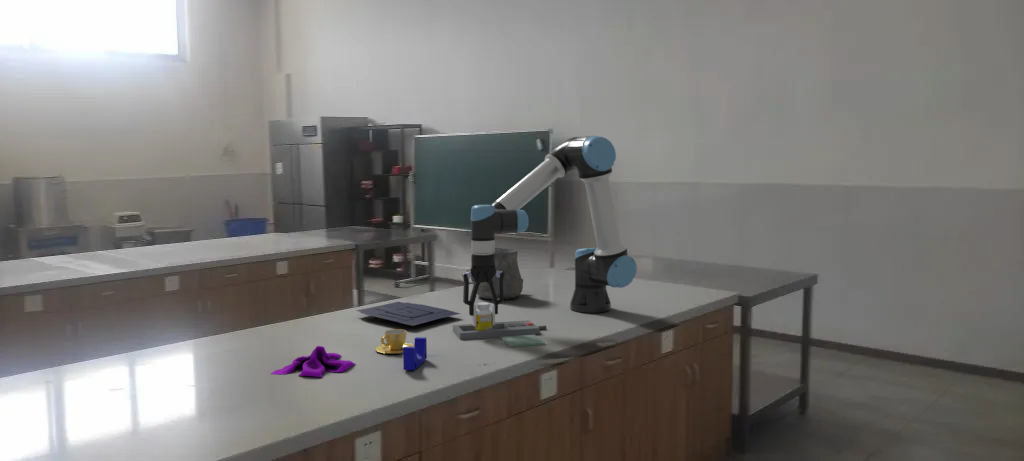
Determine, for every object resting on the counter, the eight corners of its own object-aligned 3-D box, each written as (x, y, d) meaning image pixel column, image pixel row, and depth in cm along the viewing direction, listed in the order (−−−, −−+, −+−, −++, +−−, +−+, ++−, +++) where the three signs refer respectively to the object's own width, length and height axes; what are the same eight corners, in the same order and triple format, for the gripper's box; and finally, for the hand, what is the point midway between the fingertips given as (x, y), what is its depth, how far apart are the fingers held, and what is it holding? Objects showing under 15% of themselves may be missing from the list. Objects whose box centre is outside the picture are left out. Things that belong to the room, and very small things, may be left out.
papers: (401, 308, 279) (401, 298, 278) (461, 321, 260) (461, 310, 260) (351, 319, 259) (351, 309, 259) (412, 334, 241) (412, 323, 241)
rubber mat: (534, 336, 234) (534, 334, 234) (544, 344, 224) (544, 342, 224) (500, 338, 232) (500, 336, 232) (509, 347, 221) (509, 345, 221)
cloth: (331, 354, 216) (330, 333, 216) (368, 366, 204) (368, 344, 203) (259, 370, 200) (258, 347, 200) (295, 384, 188) (294, 360, 187)
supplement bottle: (475, 331, 241) (474, 302, 240) (491, 331, 242) (491, 301, 241) (475, 335, 236) (475, 305, 235) (492, 335, 236) (492, 304, 236)
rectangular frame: (540, 325, 250) (540, 317, 250) (551, 333, 239) (551, 325, 238) (452, 331, 242) (452, 323, 242) (459, 339, 231) (459, 331, 231)
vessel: (538, 299, 296) (538, 250, 294) (492, 306, 284) (491, 254, 282) (508, 292, 314) (508, 245, 312) (463, 297, 302) (462, 248, 300)
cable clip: (411, 357, 211) (411, 337, 210) (426, 358, 210) (426, 337, 210) (398, 369, 199) (397, 347, 199) (414, 370, 198) (414, 348, 198)
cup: (400, 342, 229) (400, 325, 228) (424, 349, 220) (423, 331, 219) (367, 349, 220) (366, 331, 220) (390, 357, 212) (389, 338, 211)
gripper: (508, 250, 242) (508, 320, 245) (452, 253, 238) (453, 324, 240) (514, 253, 235) (514, 325, 237) (456, 255, 230) (457, 329, 233)
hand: (483, 324), depth 239 cm, fingers closed on supplement bottle, 5 cm apart
